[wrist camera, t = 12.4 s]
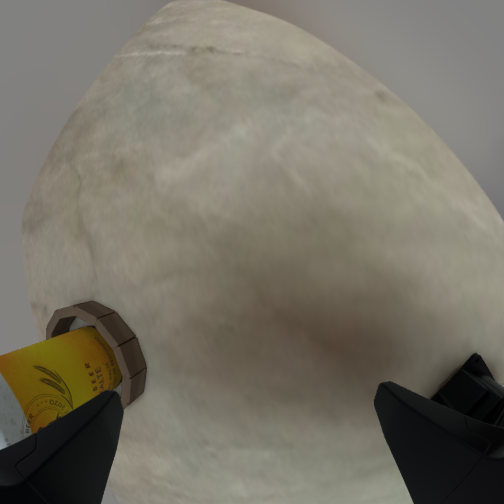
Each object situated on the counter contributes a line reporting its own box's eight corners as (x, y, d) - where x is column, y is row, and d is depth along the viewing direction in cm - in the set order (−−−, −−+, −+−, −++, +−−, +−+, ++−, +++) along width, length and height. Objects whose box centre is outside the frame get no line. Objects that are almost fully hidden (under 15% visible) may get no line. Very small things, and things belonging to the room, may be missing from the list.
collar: (167, 370, 20) (152, 383, 18) (112, 419, 21) (99, 430, 19) (91, 278, 21) (72, 281, 19) (52, 342, 22) (35, 348, 20)
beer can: (119, 398, 21) (6, 482, 6) (73, 361, 22) (-44, 414, 7) (135, 350, 21) (-10, 433, 6) (84, 311, 22) (-59, 351, 7)
